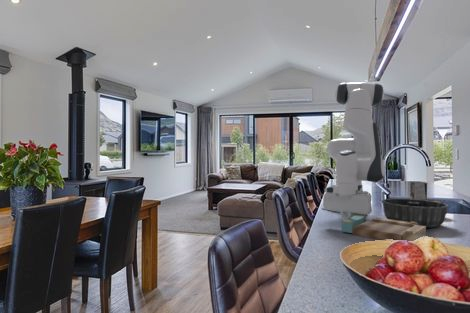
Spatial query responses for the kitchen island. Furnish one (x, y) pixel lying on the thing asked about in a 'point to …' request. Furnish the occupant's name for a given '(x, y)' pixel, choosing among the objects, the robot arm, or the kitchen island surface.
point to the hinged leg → (352, 223)
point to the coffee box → (418, 190)
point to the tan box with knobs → (390, 229)
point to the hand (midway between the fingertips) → (346, 222)
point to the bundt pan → (416, 211)
